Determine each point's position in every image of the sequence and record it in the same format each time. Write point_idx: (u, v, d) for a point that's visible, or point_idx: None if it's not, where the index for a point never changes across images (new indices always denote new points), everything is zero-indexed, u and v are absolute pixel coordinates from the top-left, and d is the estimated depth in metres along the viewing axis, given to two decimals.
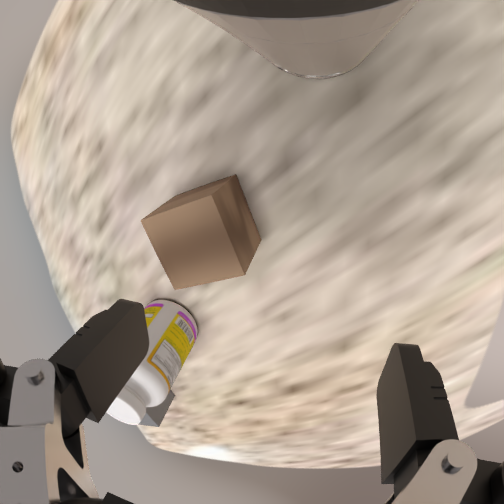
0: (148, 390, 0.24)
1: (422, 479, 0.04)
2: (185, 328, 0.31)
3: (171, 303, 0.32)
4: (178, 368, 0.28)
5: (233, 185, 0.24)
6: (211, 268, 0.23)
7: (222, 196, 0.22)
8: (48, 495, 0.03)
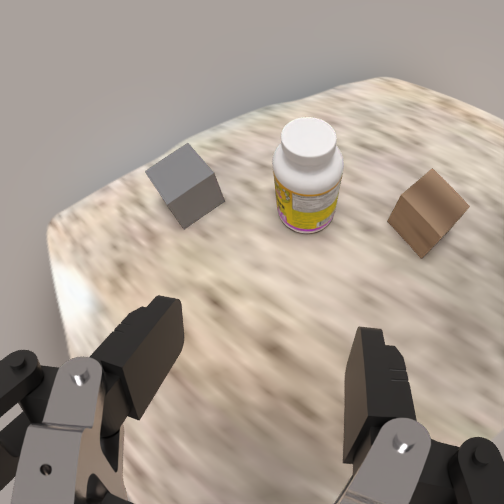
0: (326, 171, 0.26)
1: (374, 460, 0.05)
2: (329, 217, 0.33)
3: None
4: (316, 207, 0.30)
5: (451, 227, 0.32)
6: (432, 215, 0.28)
7: None
8: (74, 503, 0.03)
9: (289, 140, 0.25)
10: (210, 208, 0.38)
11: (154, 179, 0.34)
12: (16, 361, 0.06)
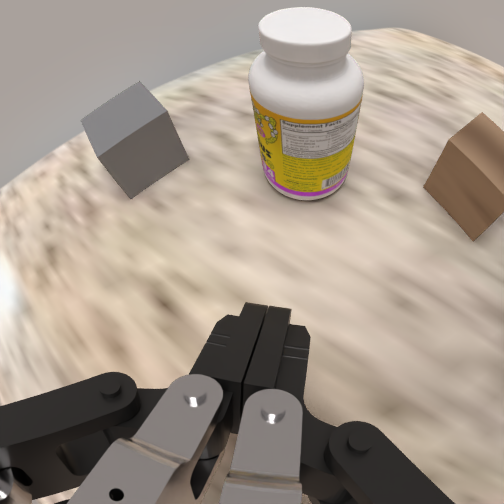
0: (337, 80, 0.14)
1: (247, 437, 0.05)
2: (341, 174, 0.21)
3: None
4: (322, 149, 0.17)
5: None
6: (495, 172, 0.16)
7: None
8: None
9: (272, 28, 0.13)
10: (167, 168, 0.25)
11: (89, 127, 0.21)
12: (108, 388, 0.06)
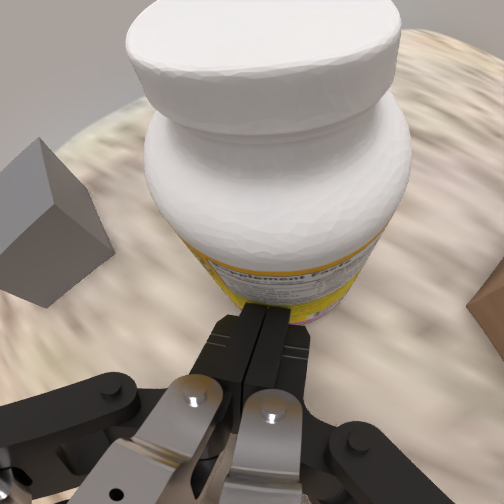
0: (352, 171, 0.05)
1: (247, 437, 0.05)
2: (343, 295, 0.12)
3: None
4: (305, 297, 0.09)
5: None
6: None
7: None
8: None
9: (158, 24, 0.04)
10: (85, 269, 0.17)
11: None
12: (108, 388, 0.06)
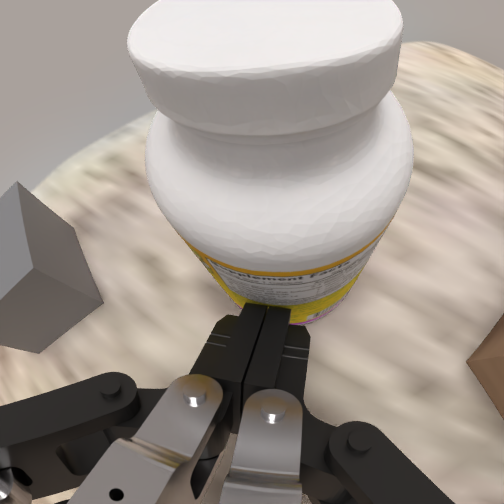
0: (351, 173, 0.05)
1: (247, 437, 0.05)
2: (343, 296, 0.12)
3: None
4: (304, 297, 0.09)
5: None
6: None
7: None
8: None
9: (160, 24, 0.04)
10: (74, 319, 0.16)
11: None
12: (108, 388, 0.06)
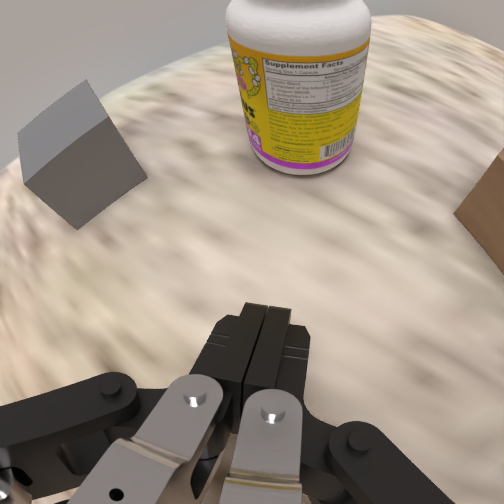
0: (336, 9, 0.09)
1: (247, 437, 0.05)
2: (345, 141, 0.16)
3: None
4: (318, 101, 0.13)
5: None
6: None
7: None
8: None
9: None
10: (119, 190, 0.19)
11: (23, 142, 0.15)
12: (108, 388, 0.06)
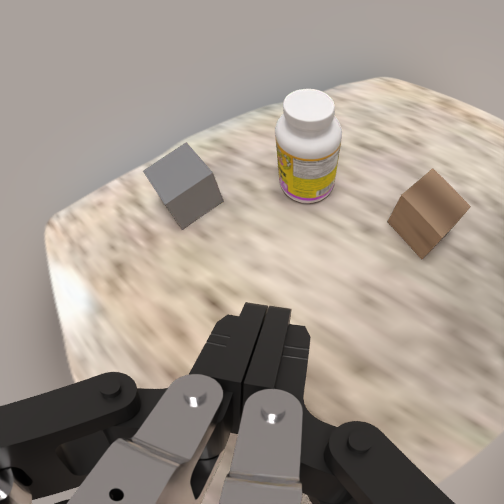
0: (325, 137, 0.27)
1: (247, 437, 0.05)
2: (329, 187, 0.34)
3: None
4: (316, 174, 0.31)
5: (452, 227, 0.32)
6: (433, 215, 0.28)
7: None
8: None
9: (291, 107, 0.26)
10: (209, 208, 0.37)
11: (152, 178, 0.33)
12: (108, 388, 0.06)
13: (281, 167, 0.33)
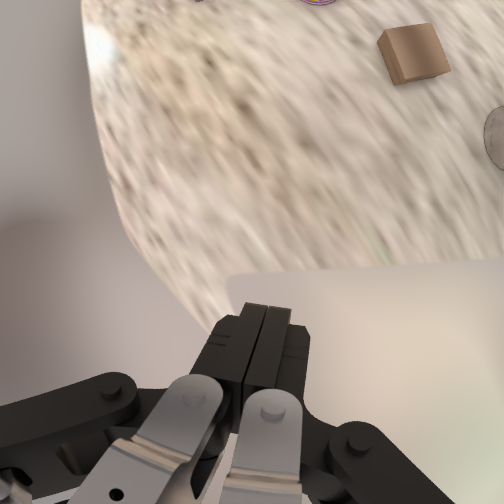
0: None
1: (247, 437, 0.05)
2: None
3: None
4: None
5: (434, 76, 0.29)
6: (406, 58, 0.26)
7: (441, 73, 0.27)
8: None
9: None
10: None
11: None
12: (108, 387, 0.06)
13: None
